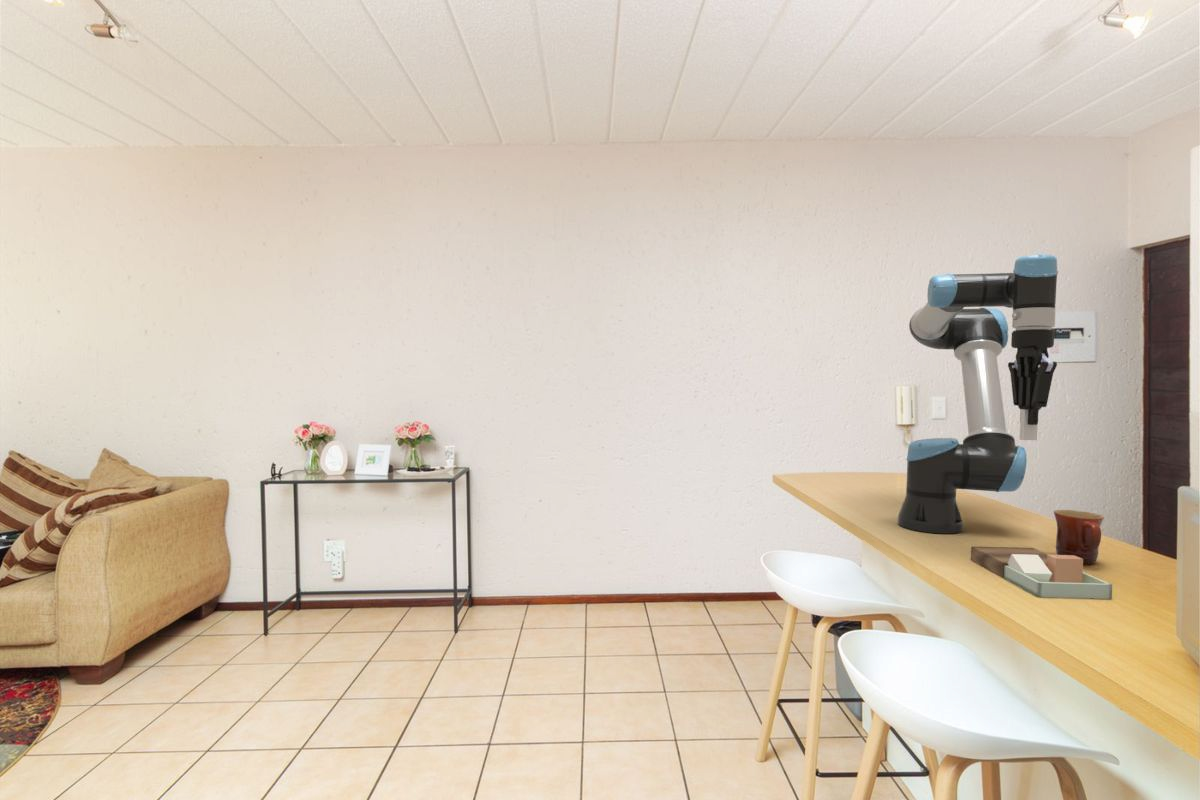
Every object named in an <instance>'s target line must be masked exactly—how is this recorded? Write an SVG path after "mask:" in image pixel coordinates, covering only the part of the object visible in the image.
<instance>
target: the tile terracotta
mask: <svg viewBox="0 0 1200 800" xmlns="http://www.w3.org/2000/svg"><path fill="white" fill-rule="evenodd" d="M1047 568H1048V569H1049V570H1050V572H1051V573H1052V575H1051V577H1050V579H1049V582H1062V583H1082V575H1083V572H1084V571H1083V570H1084V565H1083V559H1082V558H1079V557H1077V556H1074V555H1057V554H1048V555H1047Z"/></svg>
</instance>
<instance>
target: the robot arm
mask: <svg viewBox="0 0 1200 800" xmlns="http://www.w3.org/2000/svg"><path fill="white" fill-rule="evenodd" d="M1013 266H1014V268H1013V270H1012V272H1000V273H999V272H997V273H996V272H995V273H965V274H962V273H961V274H960V273H959V274H953V273H952V274H950V273H946V274H941V275H940V274H938V275H933V276H932V277H931V278H930V279H929V281H928V287H927V302H926V303H925V305H924V306H923V307H920V308H919V309H918V310H916V311H915V312H914V313H913V315H912V316H911V318H910V321H909V324H908V325H909V329H908V330H909V331H910V335H911V336H912V338H914V340H915V341H916V342H918V343H920V344H921V345H923V346H925V347H927V348H931V349H933V350H934V349H935V350H953V355H954V357H955V358H956V359H957V360H958V361H960V362H961V371H962V372H961V373H962V380H963V381H962V382H963V383H962V384H963V392H964V403H965V411H966V412H965V413H966V421H967V430H968V431H967V432H968V435H967V436H965V437H964V439H963V440H962V444H961V443H960V442H959V441H958V439H957V438H955V437H936V438H934V437H933V438H925V439H918V440H913V441H912V442H910V443H909V445H908V449H907V455H906V456H907V457H906V462H907V465H906V490H905V491H906V493H905V498H904V500H903V502H902V505H901V508H900V509H899V512H898V516H897V524H898V525H899V526H900V527H902V528H906V529H909V530H912V531H917V532H922V533H923V532H924V533H930V534H944V535H945V534H947V533H948V535H949V534H958V533H961V532H963V525H964V522H963V518H962V516H961V512H960V509H959V505H958V503H957V490H969V491H971V490H973V491H984V492H985V491H986V492H987V491H988V492H996V493H1000V492H1015V491H1017V490H1018V489H1020V487H1021V485H1022V484H1023V481H1024V479H1025V475H1026V469H1027V462H1028V460H1027V452H1026V449H1025V448H1024V446H1021V445H1016V441H1015V437H1014V436H1013V435H1011V434H1010V433H1008V431H1007V426H1006V418H1005V409H1004V402H1003V396H1002V395H1003V394H1002V388H1001V380H1000V373H999V366H998V365H999V364H998V356H999V355H1000V354H1002V351H1003V349H1005V348H1006V346H1007V344H1008V341H1009V333H1008V332H1009V326H1008V321H1007V318H1006V316H1005V314H1004V313H1003V312H1002V311H1001V310H999V309H997V308H993V307H1005V308H1008V309H1009V308H1010V309H1011V308H1012V314H1011V317H1012V328H1013V329H1015V330H1012V332H1011V339H1010V340H1011V343H1010V346H1011V348H1013V349H1017V351H1016V354H1015V360H1014V361H1013V362H1011V361H1010V362H1008V364H1007V366H1008V370H1009V372H1010V373H1009V375H1010V382H1011V393H1012V400H1013V401H1012V402H1013V406H1017V407H1018V409H1019V410H1020V413H1019V416H1020V417H1019V425H1020V426H1019V440H1020V441H1021V440H1022V441H1038V424H1039V411H1040V410H1041V408H1046V407H1047V405H1048V402H1049V395H1050V391H1051V386H1052V381H1053V376H1054V372H1055V370H1056V368H1057V366H1058V363H1057V361H1052V360H1050V359H1049V356H1050V355H1049V352H1048V351H1049V350H1048V349H1049V348H1053V347H1054V345H1055V331H1054V330H1053V329H1052V328H1054V327H1055V326H1056V302H1057V301H1056V300H1057V297H1056V296H1057V281H1058V274H1059V270H1058V260H1057V257H1056V256H1054V255H1052V254H1033V255H1032V254H1030V255H1025V256H1024V255H1023V256H1020V257H1018V258H1016V259H1015V262H1014V265H1013ZM976 307H977V308H976ZM987 307H989V308H987ZM991 307H992V308H991Z"/></svg>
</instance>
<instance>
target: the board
mask: <svg viewBox="0 0 1200 800" xmlns="http://www.w3.org/2000/svg"><path fill="white" fill-rule="evenodd" d="M1011 554H1027V555H1038V556H1039V557H1040V558H1041V560H1042V561H1043V562H1044V564H1045V565H1046V566H1047V555H1049V554H1048V553H1046V552H1043V551H1041V550H1038V549H1036V548H1034V547H1007V546H1004V547H1003V546H971V547H970V561H971V562H973V563H975V564H977V565H979V566H981V567H983V568H984V569H985V570H988V571H990V572H992V573H993V574H995V575H997V576H999V577H1000V578H1002V579H1004V565H1008V561H1009V559H1010V557H1011Z"/></svg>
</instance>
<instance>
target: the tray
mask: <svg viewBox="0 0 1200 800" xmlns="http://www.w3.org/2000/svg"><path fill="white" fill-rule="evenodd" d="M1003 579H1004V580H1006V581H1008V582H1009V583H1011V584H1013V585H1015V586H1017V587H1019V588H1020V589H1022V590H1024V591H1026V592H1027V593H1030V594H1032V595H1033V596H1035V597H1037V598H1062V599H1063V598H1065V599H1066V598H1067V599H1091V598H1093V599H1094V600H1095V599H1098V600H1099V599H1100V600H1113V584H1111V583H1109V582H1107V581H1105V580H1102V579H1100V578H1098V577H1096V576H1093V575H1091V574H1089V573H1087V572H1084V571H1083V575H1082V583H1062V582H1049V581H1048V582H1039V581H1037V580H1035V579H1033V578H1031V577H1029V576H1027V575H1025V574H1023V573H1021V572H1019V571H1017V570H1015V569H1013V568H1011V567H1010V566H1009V565H1004V578H1003ZM1093 599H1092V600H1093Z"/></svg>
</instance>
